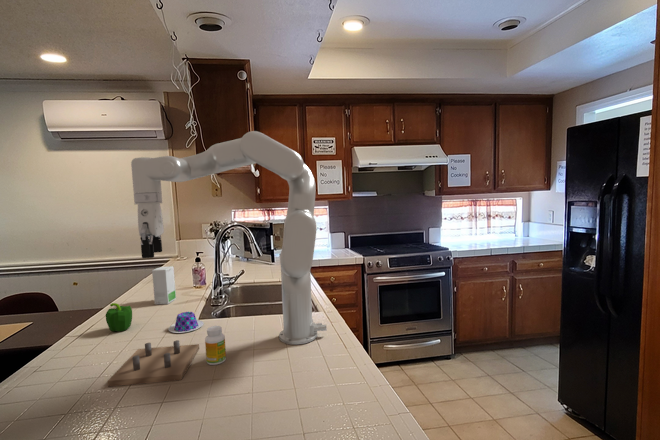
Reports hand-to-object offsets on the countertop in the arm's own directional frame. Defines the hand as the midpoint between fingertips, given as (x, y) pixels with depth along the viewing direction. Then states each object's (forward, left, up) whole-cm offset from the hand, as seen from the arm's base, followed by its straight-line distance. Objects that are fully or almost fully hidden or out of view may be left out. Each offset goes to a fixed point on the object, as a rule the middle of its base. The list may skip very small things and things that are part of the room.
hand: (152, 254), depth 106 cm
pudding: (-3, -17, -31) cm, 35 cm away
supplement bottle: (-19, +11, -30) cm, 38 cm away
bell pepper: (+21, -20, -30) cm, 42 cm away
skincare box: (+16, -51, -30) cm, 61 cm away
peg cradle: (-3, +11, -30) cm, 32 cm away
